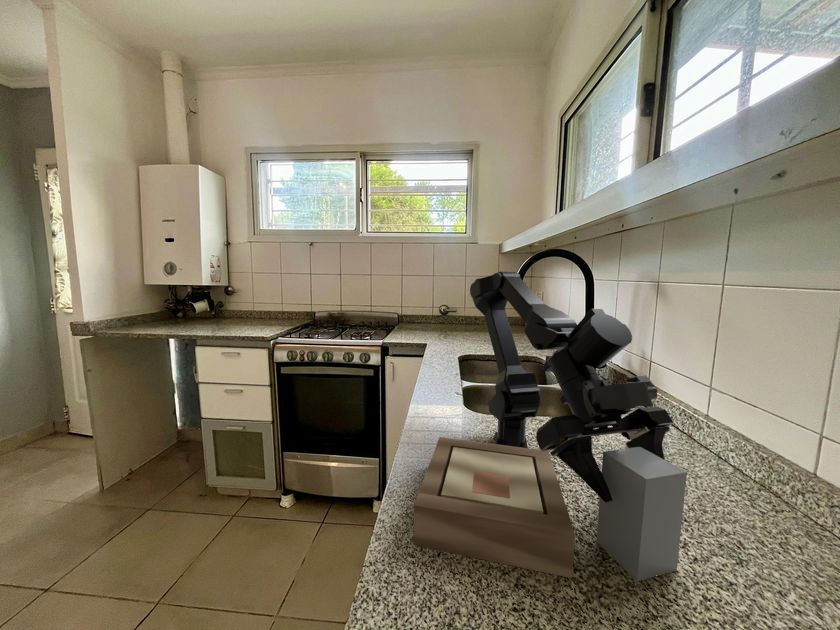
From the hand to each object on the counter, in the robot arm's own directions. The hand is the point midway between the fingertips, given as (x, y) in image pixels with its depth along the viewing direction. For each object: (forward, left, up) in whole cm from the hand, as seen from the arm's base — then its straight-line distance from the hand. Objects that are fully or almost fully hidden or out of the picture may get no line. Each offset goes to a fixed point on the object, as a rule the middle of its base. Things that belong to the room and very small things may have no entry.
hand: (639, 496), depth 40 cm
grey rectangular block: (0, 0, -8) cm, 8 cm away
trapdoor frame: (-4, -18, -8) cm, 20 cm away
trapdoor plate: (-4, -18, -3) cm, 19 cm away
